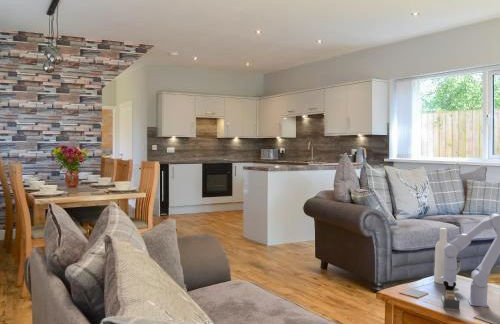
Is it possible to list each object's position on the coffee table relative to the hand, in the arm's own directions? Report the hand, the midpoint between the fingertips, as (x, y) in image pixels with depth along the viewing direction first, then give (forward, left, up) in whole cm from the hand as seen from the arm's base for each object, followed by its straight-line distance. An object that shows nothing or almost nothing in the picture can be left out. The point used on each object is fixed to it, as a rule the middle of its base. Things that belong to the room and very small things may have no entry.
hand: (449, 296), depth 227 cm
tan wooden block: (+6, 0, -1) cm, 6 cm away
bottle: (-33, -1, -2) cm, 33 cm away
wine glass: (-22, +3, -2) cm, 22 cm away
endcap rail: (+6, 0, -2) cm, 6 cm away
